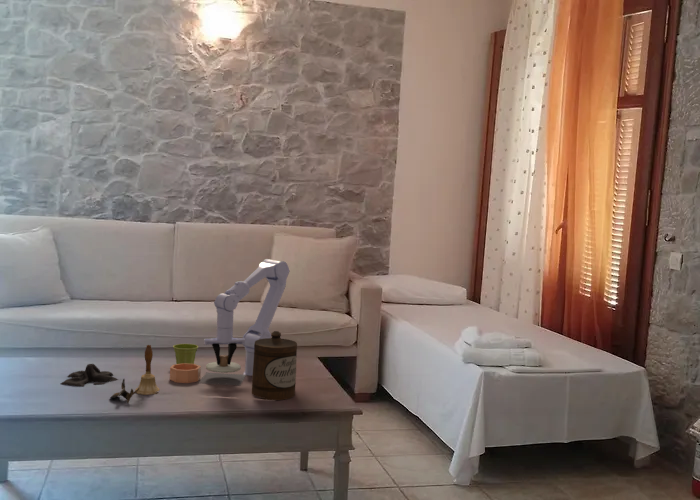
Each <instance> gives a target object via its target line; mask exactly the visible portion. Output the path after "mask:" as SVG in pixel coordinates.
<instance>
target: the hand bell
mask: <svg viewBox="0 0 700 500" xmlns="http://www.w3.org/2000/svg"><path fill="white" fill-rule="evenodd" d="M152 360H153V349H152V345H151V344H147V345H146V347H145V350H144V361H145V373H144V374H142V375H141V377H140V382H139V385H138V386H137V387H136V388H135V389H134V392H135V391H136V390H137V389H138V388H139V390H138V391H137V392H136V393H135V394H137V395H142V396H149V395H151V396H152V395H157V394H160V393H159V392H160V388H159V387H158V385H157V382H156V376H155V375H154V374H153V373H152V365H151V364H152Z"/></svg>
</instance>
